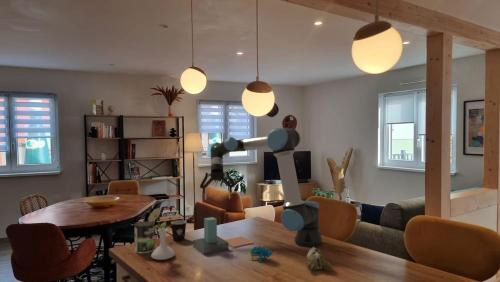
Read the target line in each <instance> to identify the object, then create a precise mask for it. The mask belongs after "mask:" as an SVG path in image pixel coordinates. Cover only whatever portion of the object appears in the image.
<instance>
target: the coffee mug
mask: <svg viewBox="0 0 500 282" xmlns="http://www.w3.org/2000/svg"><path fill="white" fill-rule="evenodd" d="M167 227H169V228H170V229H171V233H170V232H169V231H167V232H166V234H168V235H170V236H172V241H174V242H183V241H185V239H186V238H185V237H186V228H187V221H186V220H179V219H178V220H173V221H170V225H166V226H165V227H164V228H165V229H167Z"/></svg>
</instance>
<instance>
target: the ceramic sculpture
mask: <svg viewBox="0 0 500 282" xmlns="http://www.w3.org/2000/svg"><path fill="white" fill-rule="evenodd" d="M306 259H307V260H306V261H307V262H306V267H307V269H308V271H312V272H313V271H314V270H322V269H323V268H324V270H325V271H332V269H333V268H332V264H331V263H330V261H328V260H326V258H325V256H324V255H323V253H322V252H321V250H319V249H318V248H316V247H311V248H310V249H309V251H308V252H307V255H306Z"/></svg>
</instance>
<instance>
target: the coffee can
mask: <svg viewBox="0 0 500 282" xmlns="http://www.w3.org/2000/svg"><path fill="white" fill-rule="evenodd" d="M155 225H156V223H155V221H153V222H151V221H150V222H149V221H148V220H147V221H144V220H143V221H138V222H135V223H134V224H133V226H134V253H136V254H148V253H149V254H150V253H152V252H153V251H154V250H155V249H156V248H155V247H156V245H155V239H156V238H155V230H156V229H152V228H153V227H154V226H155Z"/></svg>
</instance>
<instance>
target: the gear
mask: <svg viewBox="0 0 500 282" xmlns="http://www.w3.org/2000/svg"><path fill="white" fill-rule="evenodd" d="M249 255H250V256H251V258H250V260H251V261H253V260H254V257H259V261H258V262H259V263H262V260H263V258H267V257H268V258H270V257H271V256H272V255H273V251H272V250H270V248H268V247H267V248H266V247H265V246H262V247H261V246H260V245H259V246H257V247H256V246H253V247H252V248H251V250H249Z"/></svg>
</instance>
